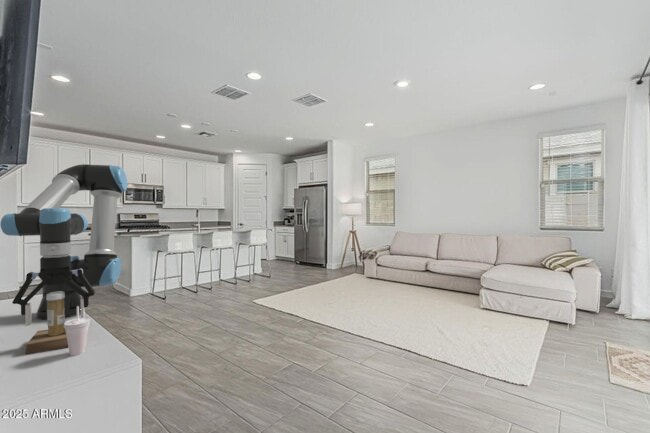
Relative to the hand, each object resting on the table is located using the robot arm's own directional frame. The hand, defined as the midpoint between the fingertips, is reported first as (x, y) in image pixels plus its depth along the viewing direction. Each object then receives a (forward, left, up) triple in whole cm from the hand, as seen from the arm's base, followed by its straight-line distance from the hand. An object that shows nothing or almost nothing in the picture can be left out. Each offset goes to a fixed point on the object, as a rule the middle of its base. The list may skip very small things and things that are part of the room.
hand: (56, 320), depth 102 cm
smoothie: (+12, +7, -7) cm, 16 cm away
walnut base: (0, 0, -7) cm, 7 cm away
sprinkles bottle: (0, 0, -4) cm, 4 cm away
